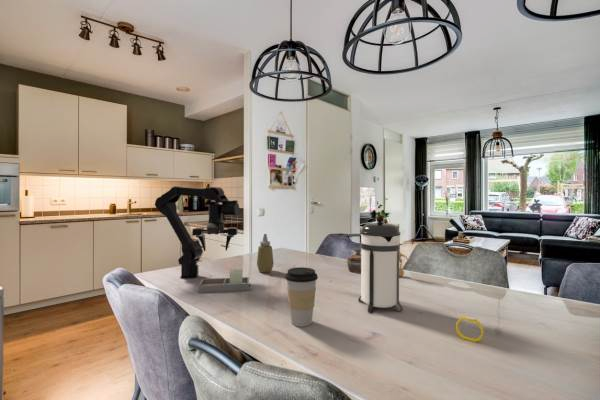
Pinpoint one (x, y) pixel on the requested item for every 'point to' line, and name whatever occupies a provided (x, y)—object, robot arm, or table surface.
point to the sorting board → (222, 285)
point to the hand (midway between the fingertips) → (215, 250)
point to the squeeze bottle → (265, 256)
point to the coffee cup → (301, 294)
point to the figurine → (401, 264)
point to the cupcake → (354, 261)
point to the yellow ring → (471, 319)
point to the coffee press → (380, 265)
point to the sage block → (236, 276)
